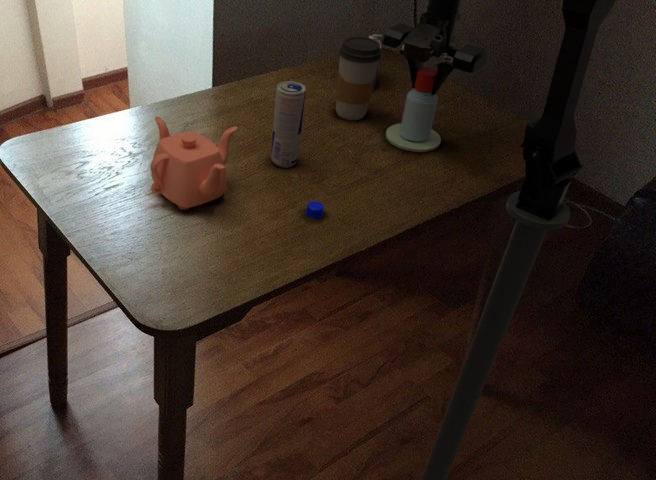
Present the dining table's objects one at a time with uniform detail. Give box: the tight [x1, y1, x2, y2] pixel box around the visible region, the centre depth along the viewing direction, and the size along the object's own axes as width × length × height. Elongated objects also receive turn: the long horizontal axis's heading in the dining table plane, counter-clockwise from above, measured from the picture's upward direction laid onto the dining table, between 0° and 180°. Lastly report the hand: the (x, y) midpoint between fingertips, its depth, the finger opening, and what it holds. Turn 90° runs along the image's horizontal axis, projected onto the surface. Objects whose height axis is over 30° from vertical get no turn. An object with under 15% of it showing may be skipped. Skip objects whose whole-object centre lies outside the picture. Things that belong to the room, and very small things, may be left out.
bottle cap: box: [305, 201, 325, 220], centre depth 119 cm, size 3×3×2 cm
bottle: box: [400, 88, 439, 141], centre depth 137 cm, size 6×6×12 cm
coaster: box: [385, 123, 442, 153], centre depth 142 cm, size 11×11×1 cm
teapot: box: [150, 115, 238, 211], centre depth 118 cm, size 14×14×11 cm
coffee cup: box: [335, 35, 382, 121], centre depth 143 cm, size 8×8×15 cm
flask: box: [367, 33, 383, 90], centre depth 158 cm, size 9×3×11 cm, turn 177°
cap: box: [415, 66, 438, 92], centre depth 134 cm, size 4×4×3 cm
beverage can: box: [270, 80, 307, 169], centre depth 127 cm, size 5×5×15 cm
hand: (423, 91), depth 135 cm, fingers closed on cap, 4 cm apart
